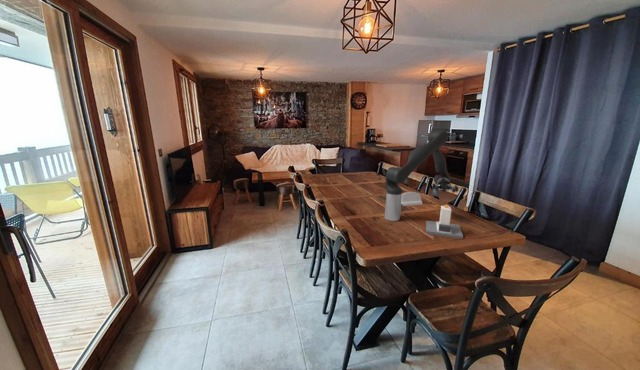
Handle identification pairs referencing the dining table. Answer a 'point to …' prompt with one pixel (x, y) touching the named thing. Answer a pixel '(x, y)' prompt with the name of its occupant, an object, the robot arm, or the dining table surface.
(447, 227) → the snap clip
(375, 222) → the dining table surface
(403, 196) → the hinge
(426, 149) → the robot arm
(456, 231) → the mounting plate
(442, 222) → the module
